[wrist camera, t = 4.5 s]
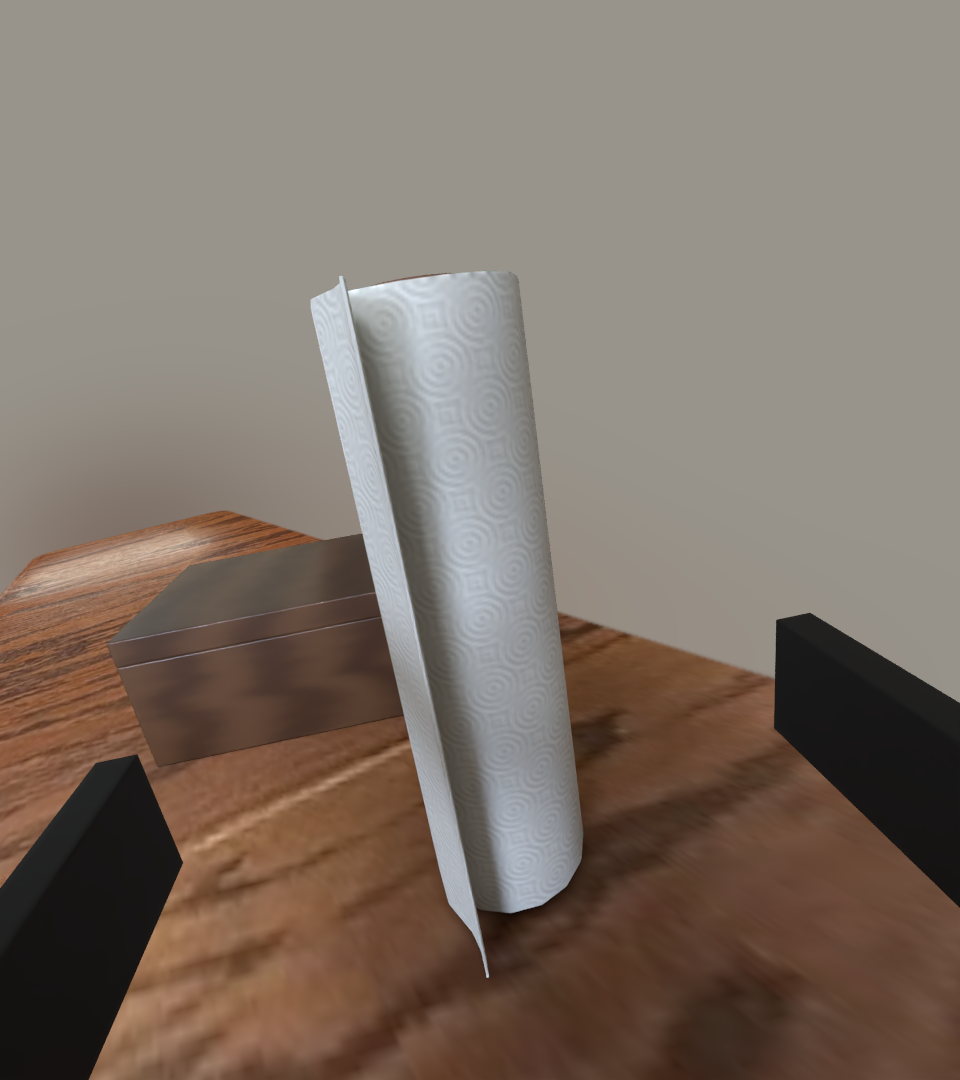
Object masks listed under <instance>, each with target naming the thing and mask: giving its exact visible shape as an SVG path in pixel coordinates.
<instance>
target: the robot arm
mask: <svg viewBox="0 0 960 1080" xmlns="http://www.w3.org/2000/svg"><path fill="white" fill-rule="evenodd" d="M775 664H776V665H775V711H774V728H775V729H776V730H777V731H778V732H779V733H780V734H781V735H782V736H783V737H784V738H785V739H786V740H787V741H788V742H789V743H790V744H791V745H792V746H793V747H794V748H795V749H796V750H797V751H798V752H799V753H800V754H802V755H803V756H804V757H805V758H806V759H807V760H808V761H809V762H810V763H811V764H812V765H813V766H814V767H815V768H816V769H817V770H818V771H819V772H820V773H821V774H822V775H823V776H824V777H825V778H826V779H827V780H828V781H829V782H830V783H831V784H833V785H834V786H835V787H836V788H837V789H838V790H839V791H840V792H841V793H842V794H843V795H844V796H845V797H846V798H847V799H848V800H849V801H850V802H851V803H852V804H853V805H854V806H855V807H856V808H857V809H858V810H859V811H860V812H861V813H862V814H864V815H865V816H866V817H867V818H868V819H869V820H870V821H871V822H872V823H873V824H874V825H875V826H876V827H877V828H878V829H879V830H880V831H881V832H882V833H883V834H884V835H885V836H886V837H887V838H888V839H889V840H890V841H891V842H892V843H893V844H895V845H896V846H897V847H898V848H899V849H900V850H901V851H902V852H903V853H904V854H905V855H906V856H907V857H908V858H909V859H910V860H911V861H912V862H913V863H914V864H915V865H916V866H917V867H918V868H919V869H920V870H921V871H922V872H923V873H925V874H926V875H927V876H928V877H929V878H930V879H931V880H932V881H933V882H934V883H935V884H936V885H937V886H938V887H939V888H940V889H941V890H942V891H943V892H944V893H945V894H946V895H947V896H948V897H949V898H950V899H951V900H952V901H953V902H954V903H956V904H957V905H958V906H959V907H960V703H959V702H957V701H956V700H954V699H952V698H951V697H949V696H947V695H946V694H944V693H942V692H941V691H939V690H937V689H936V688H934V687H932V686H931V685H929V684H927V683H925V682H924V681H922V680H921V679H919V678H917V677H916V676H914V675H912V674H911V673H909V672H907V671H906V670H904V669H902V668H901V667H899V666H897V665H896V664H894V663H892V662H891V661H889V660H887V659H886V658H884V657H883V656H881V655H879V654H878V653H876V652H874V651H872V650H871V649H869V648H868V647H866V646H864V645H863V644H861V643H859V642H858V641H856V640H854V639H853V638H851V637H849V636H848V635H846V634H844V633H843V632H841V631H839V630H838V629H836V628H834V627H833V626H831V625H829V624H828V623H826V622H824V621H823V620H821V619H819V618H818V617H816V616H814V615H813V614H811V613H807V614H802V615H798V616H793V617H788V618H783V619H778V620H776V663H775ZM182 864H183V861H182V859H181V857H180V854H179V852H178V850H177V847H176V845H175V843H174V840H173V838H172V835H171V833H170V831H169V828H168V826H167V824H166V821H165V819H164V816H163V814H162V812H161V809H160V807H159V805H158V802H157V800H156V798H155V795H154V793H153V790H152V788H151V786H150V783H149V781H148V779H147V776H146V774H145V771H144V769H143V767H142V764H141V762H140V760H139V757H138V755H132V756H127V757H123V758H118V759H113V760H108V761H104V762H99V763H96V764H95V765H94V766H93V768H92V769H91V770H90V772H89V773H88V774H87V775H86V777H85V778H84V779H83V781H82V782H81V783H80V785H79V786H78V787H77V789H76V790H75V791H74V793H73V794H72V795H71V796H70V798H69V799H68V800H67V802H66V803H65V804H64V806H63V807H62V808H61V810H60V811H59V812H58V813H57V815H56V816H55V817H54V819H53V820H52V821H51V823H50V824H49V825H48V827H47V828H46V829H45V830H44V832H43V833H42V834H41V836H40V837H39V838H38V840H37V841H36V842H35V844H34V845H33V846H32V848H31V849H30V850H29V851H28V853H27V854H26V855H25V857H24V858H23V859H22V861H21V862H20V863H19V865H18V866H17V867H16V868H15V870H14V871H13V872H12V874H11V875H10V876H9V878H8V879H7V880H6V882H5V883H4V884H3V885H2V887H1V888H0V1080H89V1077H90V1075H91V1073H92V1071H93V1068H94V1066H95V1064H96V1061H97V1059H98V1057H99V1054H100V1052H101V1050H102V1048H103V1045H104V1043H105V1041H106V1038H107V1036H108V1034H109V1032H110V1029H111V1027H112V1025H113V1022H114V1020H115V1018H116V1015H117V1013H118V1011H119V1009H120V1006H121V1004H122V1002H123V999H124V997H125V995H126V992H127V990H128V988H129V986H130V983H131V981H132V979H133V976H134V974H135V972H136V970H137V967H138V965H139V963H140V960H141V958H142V956H143V953H144V951H145V949H146V947H147V944H148V942H149V940H150V937H151V935H152V933H153V931H154V928H155V926H156V924H157V921H158V919H159V917H160V914H161V912H162V910H163V908H164V905H165V903H166V901H167V898H168V896H169V894H170V891H171V889H172V887H173V885H174V882H175V880H176V878H177V875H178V873H179V871H180V869H181V866H182Z"/></svg>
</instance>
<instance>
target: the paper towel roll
mask: <svg viewBox="0 0 960 1080" xmlns="http://www.w3.org/2000/svg"><path fill="white" fill-rule="evenodd" d="M339 279H340V283H339V284H338V285H337V286H336V287H335V288H334V289H332V290H330V291H328V292H326V293H324V294H321V295H319V296H317V297H315V298H313V299H311V312H312V316H313V321H314V325H315V329H316V333H317V338H318V342H319V347H320V351H321V355H322V360H323V363H324V368H325V373H326V377H327V381H328V386H329V390H330V394H331V399H332V403H333V407H334V412H335V416H336V420H337V425H338V429H339V434H340V438H341V442H342V447H343V451H344V455H345V460H346V464H347V469H348V473H349V477H350V481H351V486H352V490H353V495H354V499H355V503H356V508H357V512H358V516H359V521H360V525H361V529H362V534H363V538H364V543H365V547H366V551H367V556H368V560H369V564H370V569H371V573H372V578H373V582H374V586H375V591H376V595H377V599H378V604H379V608H380V612H381V617H382V621H383V625H384V630H385V634H386V639H387V643H388V647H389V652H390V656H391V660H392V665H393V669H394V673H395V678H396V682H397V686H398V691H399V695H400V700H401V704H402V708H403V713H404V717H405V721H406V726H407V730H408V734H409V739H410V743H411V747H412V752H413V756H414V761H415V765H416V769H417V774H418V778H419V782H420V787H421V791H422V795H423V800H424V804H425V808H426V813H427V817H428V822H429V826H430V830H431V835H432V839H433V843H434V848H435V852H436V856H437V861H438V865H439V869H440V873H441V877H442V880H443V884H444V888H445V891H446V895H447V899H448V903H449V905H450V906H451V907H452V908H453V909H454V911H455V912H456V913H457V914H458V916H459V917H460V918H461V919H462V920H463V922H464V923H465V924H466V925H467V927H468V928H469V929H470V930H471V931H472V933H473V935H474V937H475V939H476V941H477V944H478V946H479V948H480V950H481V952H482V957H483V962H484V967H485V971H486V976H487V978H488V977H489V972H488V965H487V958H486V953H485V948H484V943H483V939H482V934H481V929H480V924H479V919H478V915H477V910H476V908H478V909H480V910H487V911H496V912H505V913H514V912H518V911H521V910H525V909H529V908H532V907H536V906H540V905H543V904H544V903H545V902H547V901H548V900H549V899H551V898H552V897H553V896H555V895H556V894H557V893H559V892H560V891H561V890H563V889H564V888H565V887H567V885H568V883H569V881H570V880H571V878H572V876H573V874H574V873H575V871H576V869H577V867H578V866H579V864H580V862H581V859H582V845H583V826H582V818H581V809H580V801H579V792H578V784H577V775H576V767H575V758H574V749H573V741H572V732H571V724H570V715H569V707H568V698H567V690H566V681H565V673H564V664H563V656H562V647H561V639H560V630H559V622H558V613H557V605H556V596H555V588H554V579H553V571H552V562H551V553H550V545H549V537H548V528H547V519H546V511H545V503H544V494H543V485H542V477H541V468H540V460H539V451H538V443H537V436H536V435H537V434H536V427H535V426H536V425H535V417H534V408H533V400H532V392H531V383H530V374H529V366H528V358H527V350H526V340H525V333H524V323H523V315H522V307H521V298H520V289H519V281H518V277H517V276H516V275H515V274H513V273H511V272H494V271H481V272H468V273H454V274H451V273H450V274H449V273H444V274H431V275H422V276H415V277H409V278H403V279H397V280H393V281H387V282H383V283H379V284H376V285H372V286H369V287H365V288H361V289H356V290H351V291H348V289H347V285H346V280H345V279H344V277H343V276H339Z"/></svg>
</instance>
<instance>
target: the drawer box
mask: <svg viewBox="0 0 960 1080" xmlns="http://www.w3.org/2000/svg"><path fill="white" fill-rule="evenodd" d="M107 646H108V649H109V651H110V653H111V656H112V658H113V661H114V663H115V666H116V667H117V670H118V673H119V675H120V677H121V680H122V682H123V685H124V687H125V689H126V692H127V694H128V697H129V699H130V702H131V704H132V706H133V709H134V711H135V714H136V716H137V718H138V721H139V723H140V726H141V728H142V731H143V733H144V735H145V738H146V740H147V743H148V745H149V747H150V750H151V752H152V755H153V757H154V760H155V762H156V764H157V766H158V767H160V766H164V765H169V764H174V763H179V762H183V761H188V760H193V759H198V758H202V757H207V756H212V755H216V754H221V753H226V752H231V751H235V750H240V749H245V748H250V747H254V746H259V745H264V744H268V743H273V742H278V741H283V740H287V739H292V738H297V737H302V736H306V735H311V734H316V733H320V732H325V731H330V730H335V729H339V728H344V727H349V726H354V725H358V724H363V723H368V722H372V721H377V720H382V719H387V718H391V717H396V716H401V715H404V713H403V708H402V704H401V700H400V695H399V691H398V686H397V682H396V678H395V673H394V669H393V665H392V660H391V656H390V652H389V647H388V643H387V639H386V634H385V630H384V625H383V621H382V617H381V612H380V608H379V604H378V599H377V595H376V591H375V586H374V582H373V578H372V573H371V569H370V564H369V560H368V556H367V551H366V547H365V543H364V538H363V534H357V535H351V536H346V537H341V538H335V539H330V540H324V541H319V542H313V543H308V544H303V545H297V546H292V547H286V548H281V549H275V550H270V551H265V552H259V553H254V554H248V555H243V556H237V557H232V558H227V559H221V560H216V561H210V562H205V563H199V564H194V565H189V566H188V567H187V568H186V569H185V570H184V571H183V572H182V573H181V574H180V575H179V576H178V577H177V578H176V579H175V580H173V581H172V582H171V583H170V584H169V585H168V586H167V587H166V588H165V589H164V590H163V591H162V592H161V593H160V594H159V595H158V596H157V597H155V598H154V599H153V600H152V601H151V602H150V603H149V604H148V605H147V606H146V607H145V608H144V609H143V610H142V611H141V612H140V613H139V614H137V615H136V616H135V617H134V618H133V619H132V620H131V621H130V622H129V623H128V624H127V625H126V626H125V627H124V628H123V629H122V630H121V631H119V632H118V633H117V634H116V635H115V636H114V637H113V638H112V639H111V640H110V641H109V642H108V643H107Z"/></svg>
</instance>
